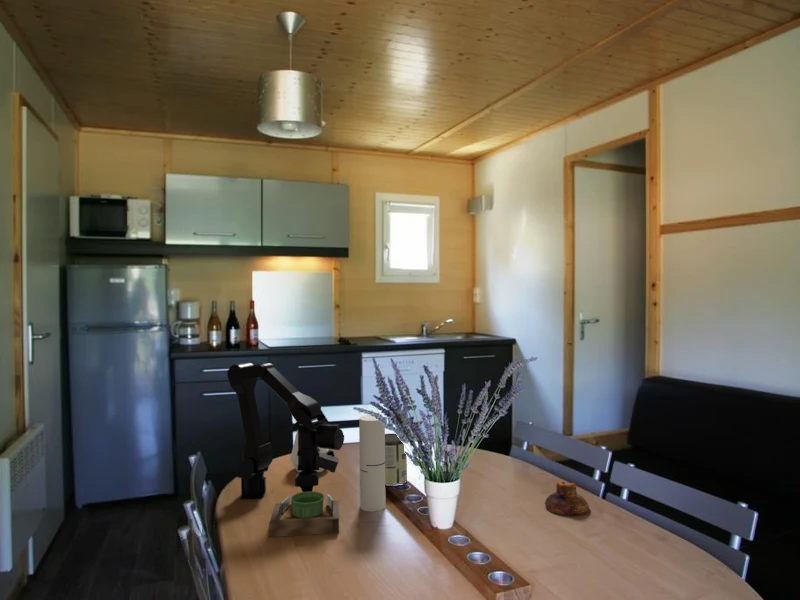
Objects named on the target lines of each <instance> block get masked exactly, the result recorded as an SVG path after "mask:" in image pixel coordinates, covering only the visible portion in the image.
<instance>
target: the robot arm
mask: <svg viewBox="0 0 800 600" xmlns="http://www.w3.org/2000/svg"><path fill="white" fill-rule="evenodd" d="M226 371H227V372H226V375H227V380H228V382H229V385H230V388H231V389H232V390H233V391H234V392H235V394H236V395H237V400H238V401H237V402H238V406H239V412H240V413H239V414H240V418H241V424H242V429H243V434H244V440H245V444H244V448H243V451H242V463H241V464H240V465H239V466H238V467H237V468H236V469H235V474H236V478H239V479H241V480H240V483H241V484H240V489H241V492H240V493H241V494H240V497H239V498H240V499H241V500H242V499H243V500H244V499H259V498H260V499H261V498H263V497H264V496H265V494H266V492H267V477H266V476H265V472H267V471H268V470H269V467H270V466H271V463H273V456H274V452H273V448H272V442H268V443H267V442H266V441H265V439H264V438H263V434H262V427H261V422H260V417H259V416H260V415H259V412H258V405H257V401H256V400H257V399H256V395H255V388H256V386H257V382H258V379H257V378H260V379H261V380H262V381H263V382H264V383H265V384H266V385H267V386H269V388H270V389H271V390H272V391H273V392H274V393H275V394H276V395H277V397H279V398H280V399H281V400H282V401H283V402H284V403H286V405H287V406H288V410H289V414H291V416H292V418H294V420H295V421H296V422H295V423H294V424H293V425H292V426H291V427H290V430H292V431H297V430H298V452H297V456H298V470H301V472H297V473H296V475H295V478H294V479H295V480H294V482H295V483H294V485H295V487H297V488H298V487H299V488H300V489H301V491H302V492H307V491H313V490H314V487H318V486H319V481H320V477H319V476H320V472H317V471H315V470H319V468H322V469H324V470H326V471H329V472H330V473H335V472H336V469H337V467H338V464H339V458H338V456H335V451H340V450H341V448H343V445H344V442H345V434H344V431H343V430H342V429H341V425H340V424H338V423H337V424H336V423H335V424H331V423H330V421H329V420H328V418H327V417H326V415H325V414H324V412H323V410H322V406H321V404H320V403H319V402H318V401H317V400H315V399H314V398H313V397H311V396H308V395H306V394H304V393H302V392H300V391H299V390H298V389H297V388H296V387H295V386H294V385H293V384H292V383H291V382H290V381H289V380H287V378H286V377H284V375H282V373H280V372H279V371H278V370H277V369H276V368H275V365H274V364H272V363H270V362H266V363H258V364H253V362H252V363H251V362H250V361H247V362H241V363H236V364H233V365H230V366H229V368H228V369H227V370H226ZM320 448H325V449H329V451H328V452H327V453H326V454H325V453H320ZM334 450H335V451H334Z"/></svg>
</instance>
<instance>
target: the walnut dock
mask: <svg viewBox="0 0 800 600" xmlns="http://www.w3.org/2000/svg"><path fill="white" fill-rule="evenodd" d="M281 503H282V502H280V503H274V506H273V510H272V513H271V516H270V520H269V521H268V522H269V523H268V524H269V537H270V538H271V537H274V538H275V537H285V536H286V537H289V536H306V535H308V536H309V535H324V534H325V535H326V534H339V533H340V506H339V505H340V504H339V503H340V500H335V501H333V512H332V516H324V517H321V516H320V517H313V518H289V519H288V518H287V519H286V518H285V519H281V518H282V515H281Z"/></svg>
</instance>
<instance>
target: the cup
mask: <svg viewBox="0 0 800 600" xmlns="http://www.w3.org/2000/svg"><path fill="white" fill-rule="evenodd" d="M293 442H294V443H293V445H292V446H293V447H292V450H291V455H290V461H291V464H292V465H293V467H294V468H295V471H296V472H297V473H299V472H301V470H298V456H297V452H298V430H296V433H295V438H294V441H293ZM329 450H330V449H325V448H320V453H325V454H326V453H327V452H328V451H329ZM324 470H325V469H322V468H319V470H315V471H317V472H319V473H322V472H323V471H324Z"/></svg>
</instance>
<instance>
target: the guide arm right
mask: <svg viewBox="0 0 800 600" xmlns="http://www.w3.org/2000/svg"><path fill="white" fill-rule="evenodd" d="M326 496H327V497H326V502H327V504H328V506H329V507H330V509H331V512H332V513H333V501H336V500H335V499H333V497H332V496H331V495H330V493H327V494H326Z"/></svg>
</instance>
